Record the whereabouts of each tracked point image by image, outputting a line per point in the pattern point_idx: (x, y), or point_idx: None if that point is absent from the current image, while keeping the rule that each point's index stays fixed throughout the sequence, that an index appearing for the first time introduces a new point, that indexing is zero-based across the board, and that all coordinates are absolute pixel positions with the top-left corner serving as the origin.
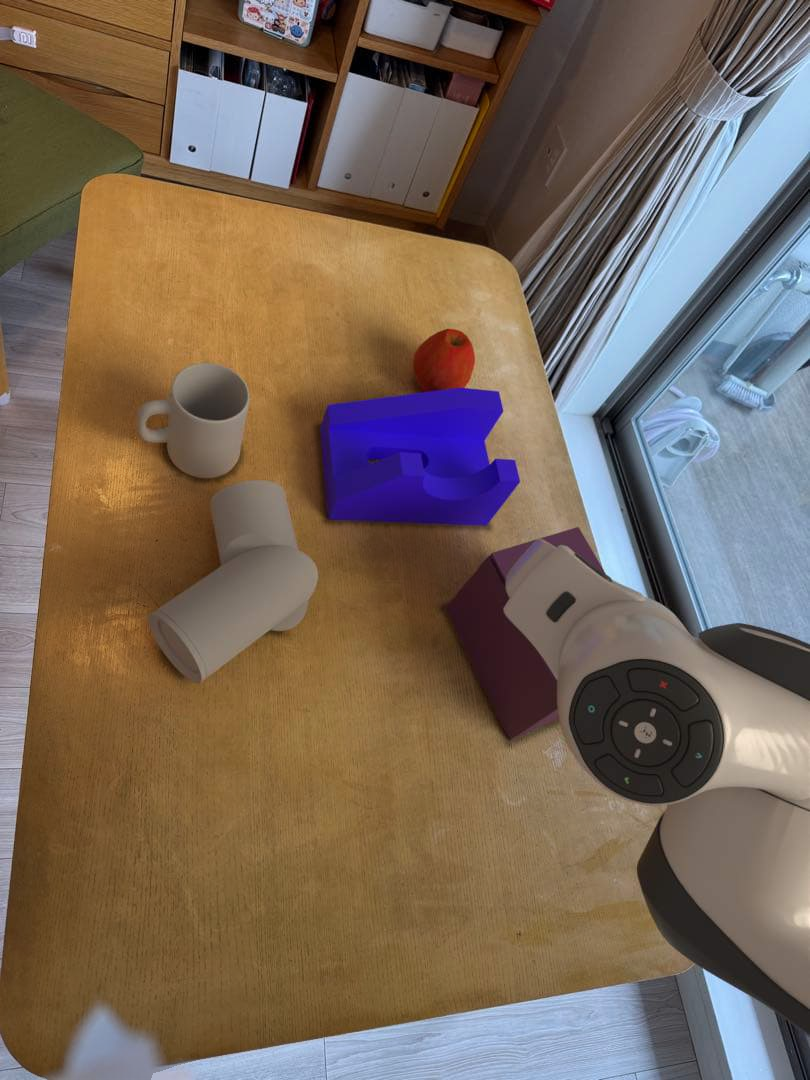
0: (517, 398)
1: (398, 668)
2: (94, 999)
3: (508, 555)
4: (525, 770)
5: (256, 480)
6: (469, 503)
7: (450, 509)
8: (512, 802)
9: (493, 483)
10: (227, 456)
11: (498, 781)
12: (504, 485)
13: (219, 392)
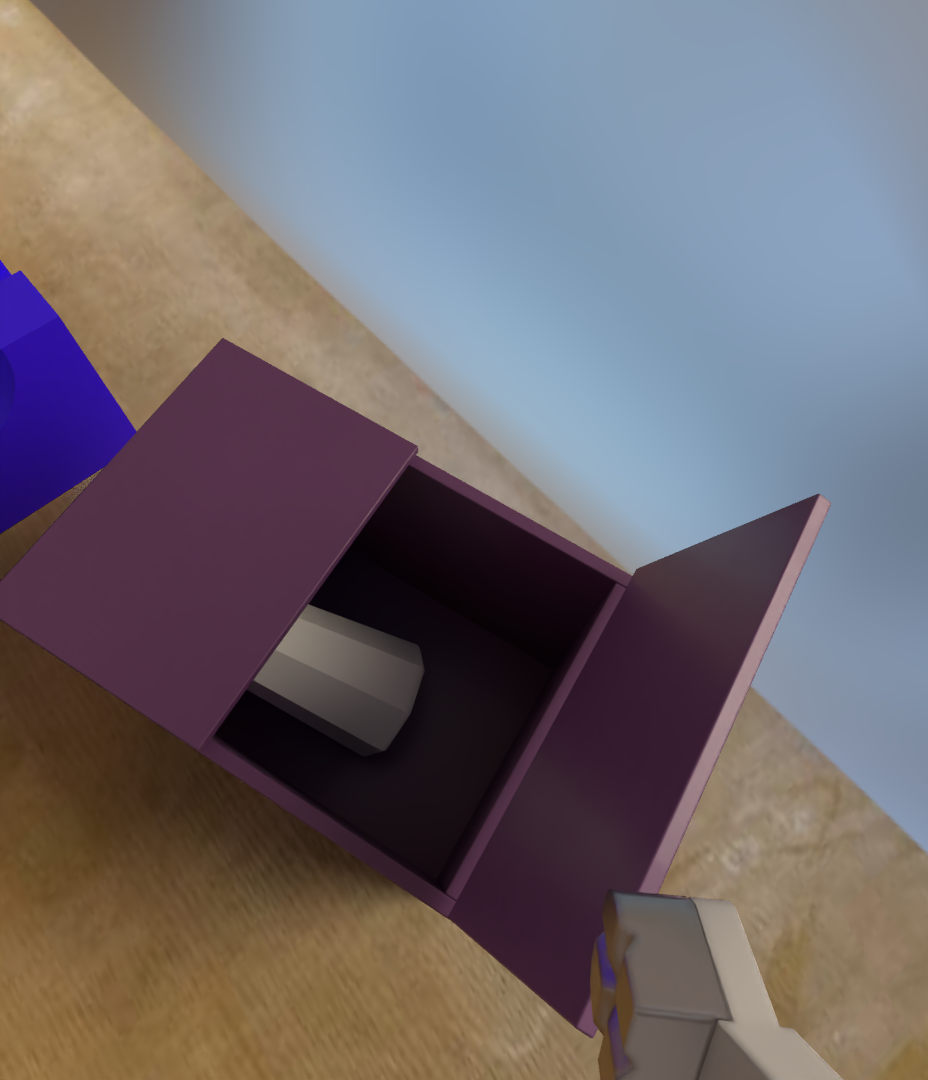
0: (81, 140)
1: (93, 931)
2: None
3: (39, 573)
4: None
5: None
6: (23, 439)
7: (2, 478)
8: (524, 1045)
9: (7, 363)
10: None
11: (466, 1020)
12: (34, 350)
13: None
